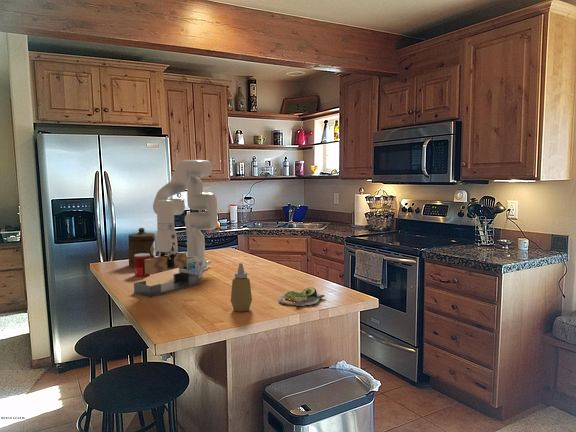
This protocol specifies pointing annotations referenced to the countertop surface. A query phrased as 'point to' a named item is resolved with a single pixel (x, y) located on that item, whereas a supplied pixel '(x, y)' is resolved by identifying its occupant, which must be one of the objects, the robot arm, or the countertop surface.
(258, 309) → the countertop surface
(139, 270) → the canned food
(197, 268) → the light bulb box
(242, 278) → the squeeze bottle
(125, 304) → the countertop surface
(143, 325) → the countertop surface
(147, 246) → the wooden container
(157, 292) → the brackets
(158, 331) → the countertop surface
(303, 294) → the salad plate
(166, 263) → the rail
